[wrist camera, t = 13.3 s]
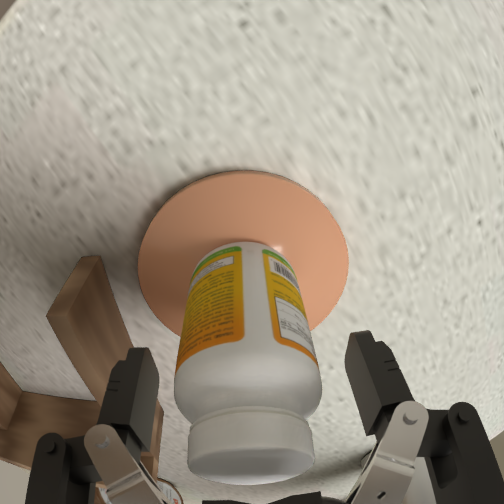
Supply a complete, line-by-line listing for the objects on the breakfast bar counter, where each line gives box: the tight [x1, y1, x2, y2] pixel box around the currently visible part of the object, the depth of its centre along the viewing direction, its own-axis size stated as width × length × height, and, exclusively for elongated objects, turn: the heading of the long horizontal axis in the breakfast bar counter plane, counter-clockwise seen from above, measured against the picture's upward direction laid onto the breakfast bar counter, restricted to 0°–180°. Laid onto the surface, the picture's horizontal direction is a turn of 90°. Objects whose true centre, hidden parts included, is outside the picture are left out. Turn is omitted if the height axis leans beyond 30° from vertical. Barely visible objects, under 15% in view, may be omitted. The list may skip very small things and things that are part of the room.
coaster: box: [138, 171, 349, 337], centre depth 17 cm, size 11×11×1 cm
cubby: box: [0, 256, 164, 489], centre depth 17 cm, size 16×16×8 cm
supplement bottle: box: [174, 242, 322, 485], centre depth 12 cm, size 5×5×10 cm
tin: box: [94, 478, 183, 504], centre depth 30 cm, size 15×3×8 cm, turn 37°
